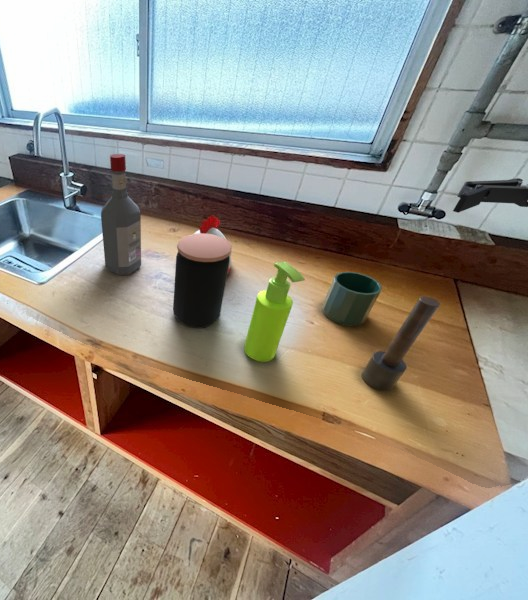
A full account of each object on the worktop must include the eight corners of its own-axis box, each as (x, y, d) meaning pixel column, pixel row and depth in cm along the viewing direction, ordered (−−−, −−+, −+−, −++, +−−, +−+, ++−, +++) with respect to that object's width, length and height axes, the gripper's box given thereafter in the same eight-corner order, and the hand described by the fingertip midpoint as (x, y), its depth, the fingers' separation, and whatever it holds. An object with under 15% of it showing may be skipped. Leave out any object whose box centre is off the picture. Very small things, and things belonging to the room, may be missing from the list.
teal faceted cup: (373, 318, 71) (391, 286, 66) (348, 331, 68) (364, 299, 63) (337, 298, 77) (351, 268, 72) (313, 309, 74) (325, 278, 69)
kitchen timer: (170, 266, 92) (172, 216, 83) (200, 250, 99) (205, 202, 90) (210, 286, 83) (218, 233, 74) (239, 266, 90) (250, 215, 81)
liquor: (145, 264, 93) (145, 154, 75) (124, 278, 88) (118, 162, 70) (122, 255, 98) (116, 149, 80) (101, 267, 93) (90, 157, 75)
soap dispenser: (256, 368, 61) (284, 281, 49) (238, 343, 66) (259, 259, 54) (284, 362, 62) (317, 275, 50) (264, 338, 67) (289, 254, 55)
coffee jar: (228, 312, 74) (242, 242, 64) (203, 337, 68) (213, 264, 57) (189, 295, 80) (196, 228, 69) (163, 316, 74) (166, 246, 63)
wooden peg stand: (398, 384, 57) (458, 304, 46) (382, 395, 55) (439, 315, 44) (371, 366, 60) (421, 288, 50) (355, 375, 59) (402, 297, 48)
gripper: (685, 241, 46) (634, 282, 39) (471, 192, 64) (409, 214, 57) (743, 188, 41) (698, 224, 34) (496, 152, 59) (432, 170, 52)
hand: (517, 218), depth 45 cm, fingers open, 13 cm apart
